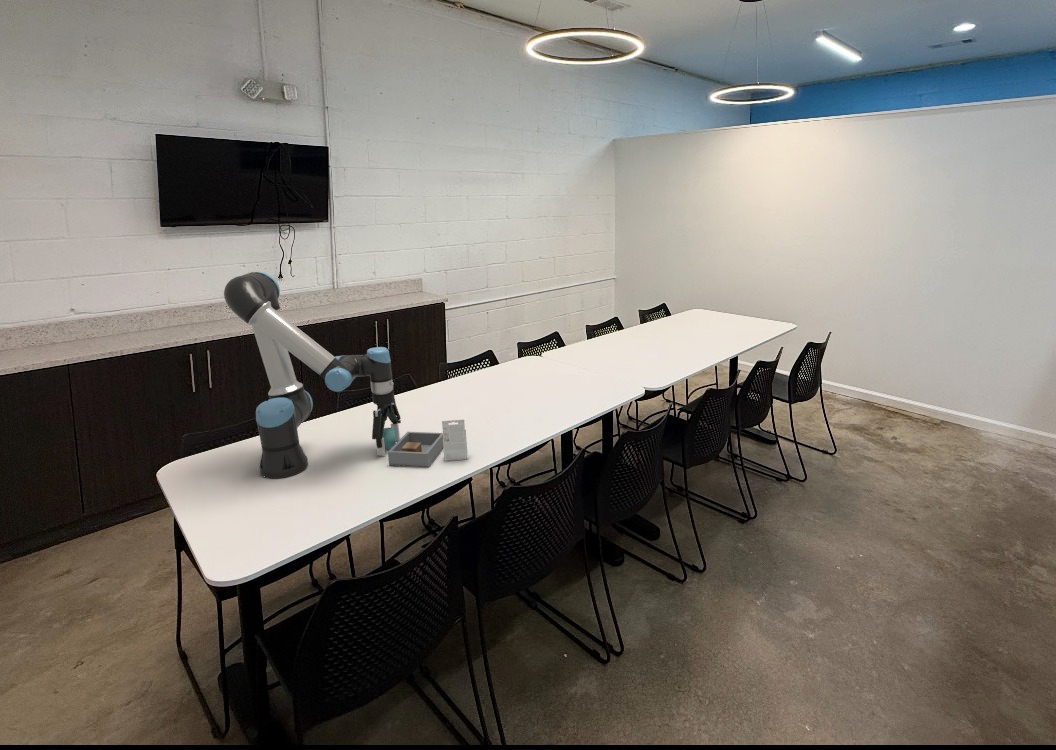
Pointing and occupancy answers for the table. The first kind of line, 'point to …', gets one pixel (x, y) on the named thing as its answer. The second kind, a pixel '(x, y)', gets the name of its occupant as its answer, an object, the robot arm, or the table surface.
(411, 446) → the cube
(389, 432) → the cylinder
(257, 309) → the robot arm
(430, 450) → the tote
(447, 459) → the ink box
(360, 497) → the table surface
